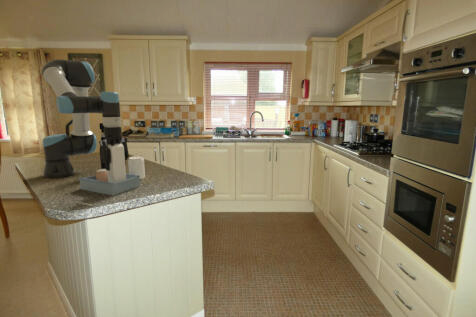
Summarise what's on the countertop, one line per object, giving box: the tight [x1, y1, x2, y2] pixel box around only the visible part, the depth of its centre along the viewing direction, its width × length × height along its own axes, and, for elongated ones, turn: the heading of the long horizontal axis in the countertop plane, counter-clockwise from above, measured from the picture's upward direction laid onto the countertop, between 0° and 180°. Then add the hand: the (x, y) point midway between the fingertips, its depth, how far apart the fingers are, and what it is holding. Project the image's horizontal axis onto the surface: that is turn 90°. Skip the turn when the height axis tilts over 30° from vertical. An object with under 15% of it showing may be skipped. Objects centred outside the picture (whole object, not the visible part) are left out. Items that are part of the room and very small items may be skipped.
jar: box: [95, 168, 108, 182], centre depth 135 cm, size 6×6×8 cm
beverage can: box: [127, 155, 146, 180], centre depth 149 cm, size 8×8×12 cm
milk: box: [106, 143, 127, 183], centre depth 128 cm, size 6×6×22 cm
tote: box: [78, 172, 141, 197], centre depth 132 cm, size 22×16×6 cm
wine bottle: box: [98, 122, 107, 169], centre depth 156 cm, size 6×6×30 cm
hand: (116, 174), depth 129 cm, fingers closed on milk, 7 cm apart
